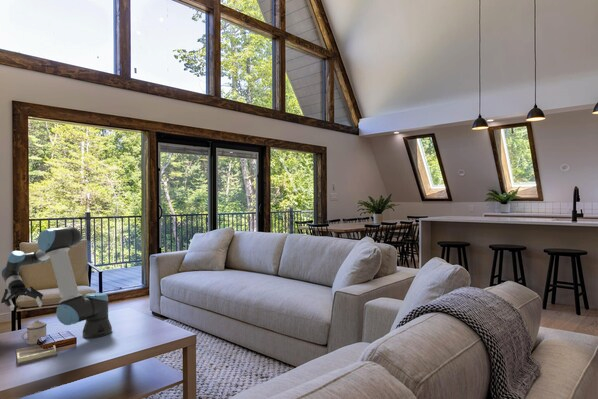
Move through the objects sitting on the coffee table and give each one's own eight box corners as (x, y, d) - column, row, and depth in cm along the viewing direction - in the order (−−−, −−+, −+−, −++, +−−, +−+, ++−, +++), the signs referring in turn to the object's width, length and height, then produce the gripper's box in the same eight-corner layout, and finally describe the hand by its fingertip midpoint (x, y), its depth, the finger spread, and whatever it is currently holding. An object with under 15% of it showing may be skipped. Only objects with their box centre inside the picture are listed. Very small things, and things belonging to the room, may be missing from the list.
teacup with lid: (41, 337, 214) (41, 316, 214) (50, 340, 210) (49, 319, 210) (17, 344, 204) (16, 323, 204) (26, 347, 199) (25, 326, 199)
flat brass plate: (16, 351, 195) (16, 349, 195) (53, 343, 205) (52, 341, 205) (17, 364, 179) (17, 362, 179) (57, 355, 189) (57, 353, 189)
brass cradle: (17, 357, 186) (17, 353, 186) (54, 348, 195) (54, 344, 195) (17, 362, 180) (17, 358, 179) (56, 353, 189) (56, 349, 189)
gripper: (37, 287, 234) (49, 308, 223) (-13, 292, 214) (-2, 316, 202) (41, 277, 233) (53, 298, 221) (-9, 281, 212) (2, 304, 201)
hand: (27, 306), depth 212 cm, fingers open, 13 cm apart
